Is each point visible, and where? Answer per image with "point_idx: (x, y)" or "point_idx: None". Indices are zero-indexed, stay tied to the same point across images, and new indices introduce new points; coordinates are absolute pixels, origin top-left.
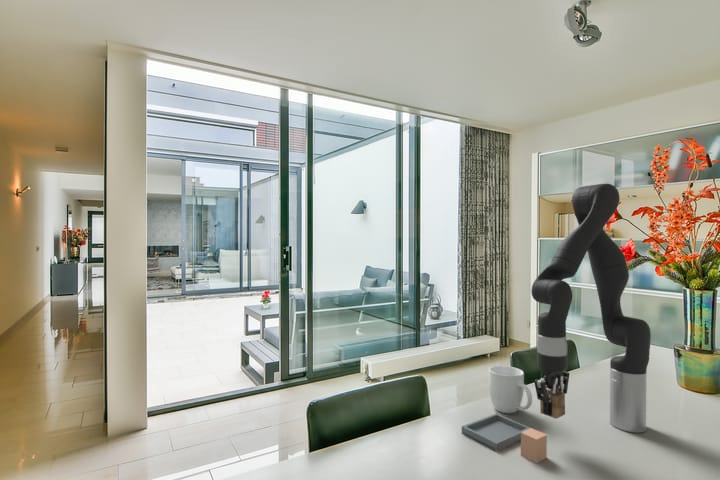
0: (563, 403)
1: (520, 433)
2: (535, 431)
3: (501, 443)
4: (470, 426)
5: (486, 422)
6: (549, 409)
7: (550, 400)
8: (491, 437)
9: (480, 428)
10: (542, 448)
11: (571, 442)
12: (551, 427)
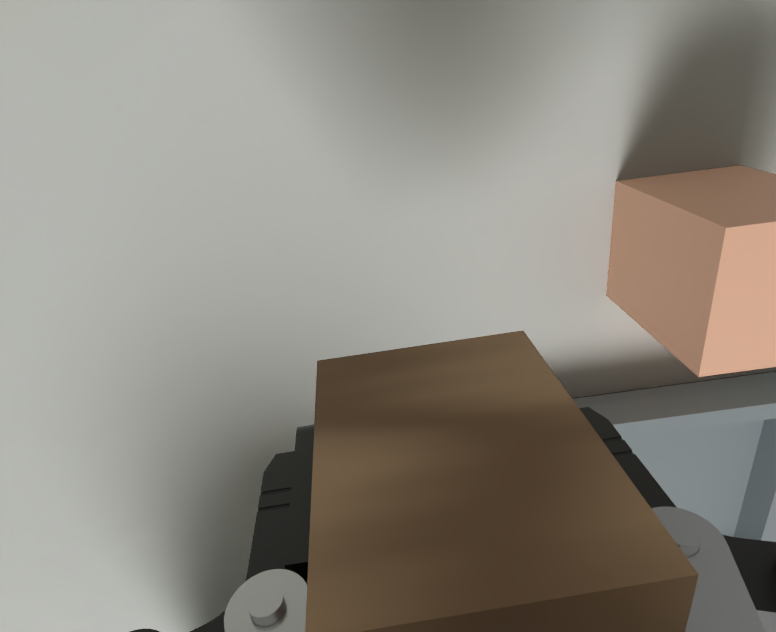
0: (360, 457)
1: None
2: (738, 317)
3: (761, 395)
4: None
5: None
6: None
7: (698, 541)
8: (680, 475)
9: None
10: (722, 192)
11: (246, 243)
12: (197, 437)
